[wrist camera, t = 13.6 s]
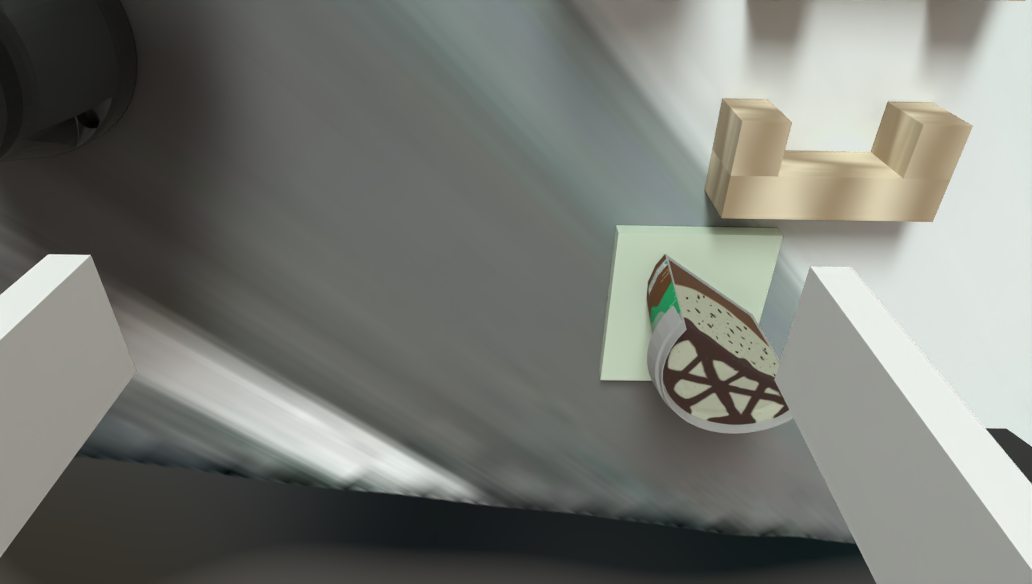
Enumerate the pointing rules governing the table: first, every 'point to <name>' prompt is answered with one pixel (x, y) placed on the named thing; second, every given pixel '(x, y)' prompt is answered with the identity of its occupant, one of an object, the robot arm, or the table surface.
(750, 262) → the coaster
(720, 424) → the food container
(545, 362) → the table surface
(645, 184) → the table surface
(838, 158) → the frame
